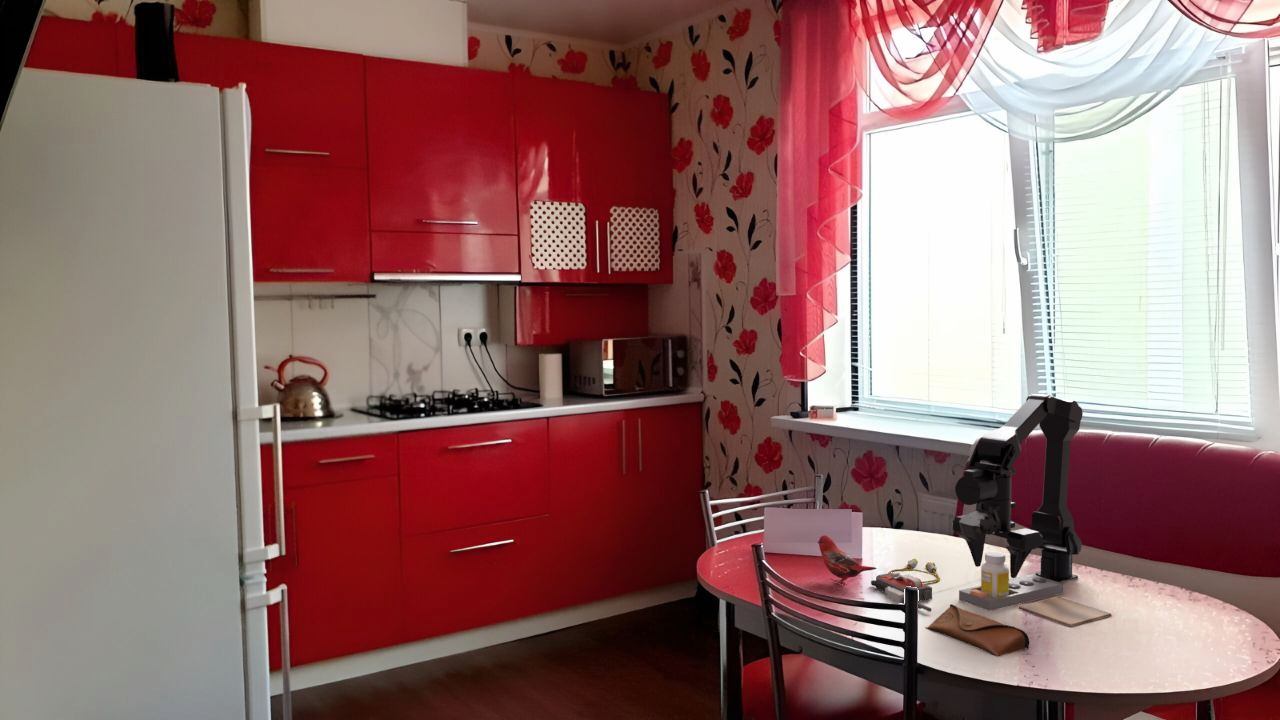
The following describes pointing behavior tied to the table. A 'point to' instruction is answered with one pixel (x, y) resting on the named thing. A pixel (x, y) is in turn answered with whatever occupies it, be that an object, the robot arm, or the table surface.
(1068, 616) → the walnut pad
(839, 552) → the decorative bird figurine
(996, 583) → the supplement bottle
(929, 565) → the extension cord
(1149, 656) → the table surface
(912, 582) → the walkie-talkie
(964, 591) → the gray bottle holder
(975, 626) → the sunglasses case
